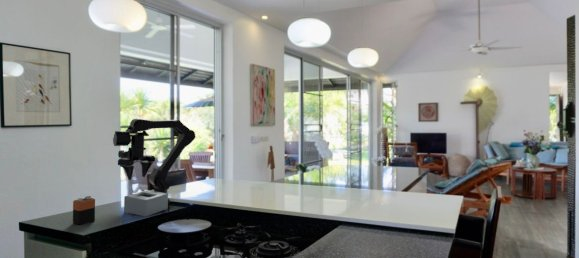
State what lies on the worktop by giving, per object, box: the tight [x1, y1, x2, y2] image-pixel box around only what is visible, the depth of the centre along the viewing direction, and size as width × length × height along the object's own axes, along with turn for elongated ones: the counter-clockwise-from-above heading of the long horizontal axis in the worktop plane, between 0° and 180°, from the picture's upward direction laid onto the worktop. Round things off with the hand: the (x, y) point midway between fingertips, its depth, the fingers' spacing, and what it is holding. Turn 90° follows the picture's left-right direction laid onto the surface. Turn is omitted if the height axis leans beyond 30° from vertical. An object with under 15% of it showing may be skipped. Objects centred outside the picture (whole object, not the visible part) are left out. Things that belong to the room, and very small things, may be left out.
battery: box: [72, 195, 96, 225], centre depth 153 cm, size 4×7×10 cm, turn 154°
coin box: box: [123, 189, 169, 217], centre depth 173 cm, size 14×12×7 cm
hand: (136, 178), depth 183 cm, fingers open, 9 cm apart
